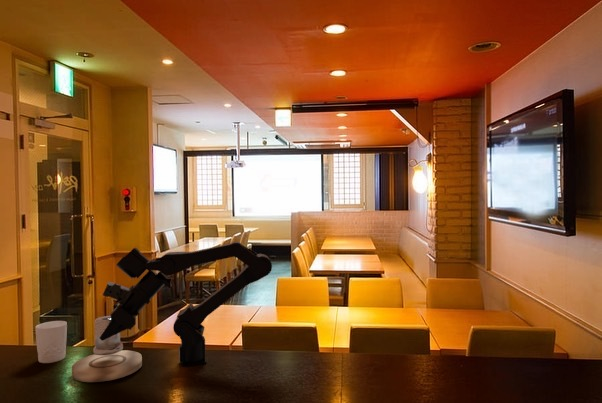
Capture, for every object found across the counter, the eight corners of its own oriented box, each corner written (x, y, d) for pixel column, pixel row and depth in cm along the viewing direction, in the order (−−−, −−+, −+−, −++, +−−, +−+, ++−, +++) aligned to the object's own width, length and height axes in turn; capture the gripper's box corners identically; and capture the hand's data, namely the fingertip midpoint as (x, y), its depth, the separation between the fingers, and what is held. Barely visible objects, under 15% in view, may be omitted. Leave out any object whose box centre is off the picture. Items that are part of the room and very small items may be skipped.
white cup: (53, 365, 121) (52, 329, 121) (29, 363, 122) (28, 327, 122) (73, 355, 128) (73, 321, 128) (50, 353, 130) (50, 320, 130)
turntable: (142, 355, 126) (142, 347, 126) (141, 377, 110) (141, 367, 110) (77, 364, 121) (77, 355, 121) (66, 388, 105) (66, 378, 105)
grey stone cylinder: (123, 344, 120) (122, 313, 120) (122, 352, 113) (120, 320, 113) (95, 348, 118) (93, 316, 118) (91, 357, 111) (90, 323, 111)
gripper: (123, 266, 126) (82, 308, 122) (119, 276, 108) (71, 326, 104) (153, 291, 128) (113, 333, 125) (154, 304, 111) (108, 354, 107)
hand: (102, 335), depth 115 cm, fingers closed on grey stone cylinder, 6 cm apart
